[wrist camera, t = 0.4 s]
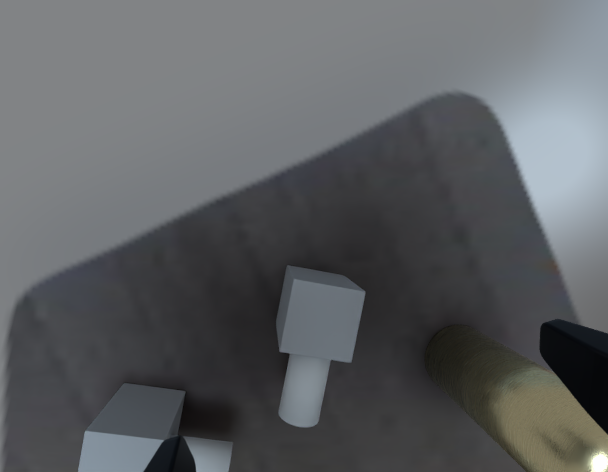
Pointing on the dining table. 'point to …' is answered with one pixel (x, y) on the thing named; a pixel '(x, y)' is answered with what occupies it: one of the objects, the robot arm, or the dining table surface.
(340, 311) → the shaft on bearing block
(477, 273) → the dining table surface
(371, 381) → the dining table surface
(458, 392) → the olive pillar candle
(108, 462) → the shaft on bearing block
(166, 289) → the dining table surface
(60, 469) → the dining table surface
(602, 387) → the robot arm
